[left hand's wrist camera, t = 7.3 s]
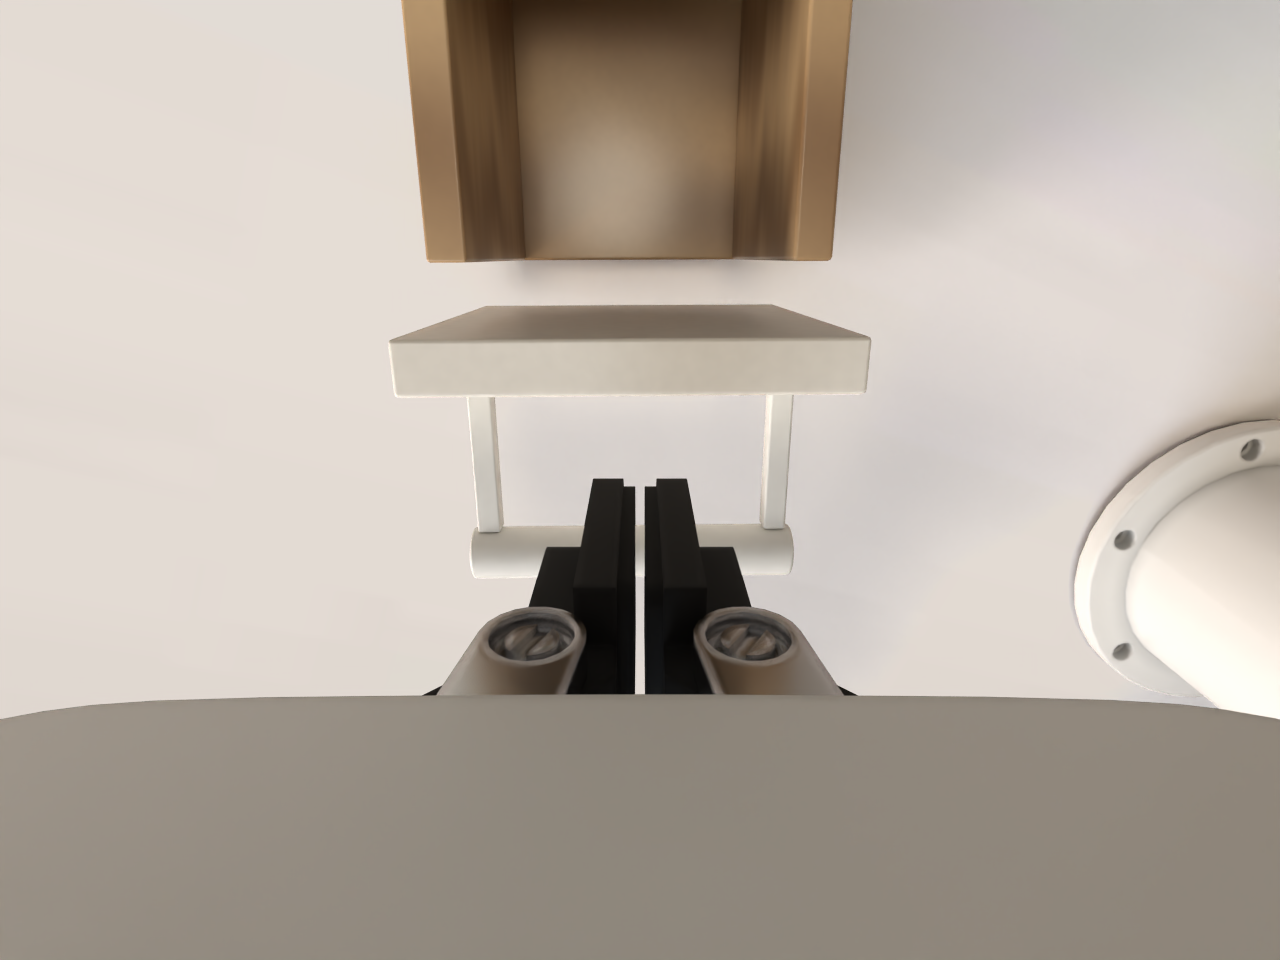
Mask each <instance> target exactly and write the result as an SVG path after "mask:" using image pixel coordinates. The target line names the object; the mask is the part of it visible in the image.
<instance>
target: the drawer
mask: <svg viewBox="0 0 1280 960" xmlns="http://www.w3.org/2000/svg"><path fill="white" fill-rule="evenodd" d="M401 2H402V13H403V23H404V33H405V43H406V53H407V64H408V74H409V84H410V94H411V104H412V115H413V125H414V135H415V145H416V155H417V165H418V176H419V186H420V196H421V206H422V216H423V227H424V237H425V247H426V257H427V261H428V262H430V263H437V262H488V261H514V260H665V259H745V260H782V261H828V260H830V259H831V257H832V251H833V238H834V226H835V214H836V201H837V189H838V177H839V164H840V152H841V139H842V127H843V115H844V102H845V90H846V78H847V65H848V53H849V41H850V28H851V16H852V3H853V0H401ZM388 345H389V354H390V362H391V370H392V379H393V387H394V394H395V396H396V397H399V398H441V397H467V403H468V415H469V426H470V438H471V450H472V461H473V473H474V485H475V496H476V508H477V520H478V527H477V528H475V529H474V531H473V534H472V537H471V543H470V565H471V570H472V573H473V576H474V577H475V578H537V577H538V573H539V570H540V567H541V563H542V560H543V556H544V553H545V550H546V548H547V547H581V541H582V536H583V531H584V526H513V527H502V526H503V524H504V519H503V505H502V491H501V477H500V464H499V450H498V436H497V422H496V408H495V397H571V396H702V395H766V413H765V431H764V449H763V467H762V485H761V503H760V522H761V524H698V525H696V531H697V536H698V541H699V547H733V548H734V550H735V553H736V556H737V560H738V563H739V567H740V570H741V573H742V575H787V574H789V573H790V572H791V569H792V566H793V558H794V547H793V538H792V533H791V530H790V527H789V526H788V525H787V524H785V513H786V499H787V484H788V469H789V455H790V440H791V425H792V410H793V396H794V395H832V394H863V393H865V392H866V388H867V378H868V368H869V358H870V349H871V339H870V337H868V336H865V335H862V334H859V333H856V332H853V331H850V330H847V329H844V328H841V327H838V326H835V325H832V324H829V323H826V322H823V321H820V320H817V319H814V318H811V317H808V316H805V315H802V314H799V313H796V312H793V311H790V310H787V309H784V308H781V307H778V306H775V305H591V306H485V307H482V308H479V309H477V310H474V311H471V312H468V313H465V314H462V315H460V316H457V317H454V318H451V319H448V320H445V321H443V322H440V323H437V324H434V325H431V326H429V327H426V328H423V329H420V330H417V331H414V332H412V333H409V334H406V335H403V336H400V337H397V338H395V339H392V340H390V341H389V344H388ZM638 576H645V525H635V577H638Z"/></svg>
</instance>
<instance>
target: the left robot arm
mask: <svg viewBox="0 0 1280 960" xmlns="http://www.w3.org/2000/svg"><path fill="white" fill-rule="evenodd" d="M1074 597H1075V610H1076V614H1077V617H1078V621H1079V625H1080V628H1081V630H1082V632H1083V634H1084V636H1085V637H1086V639H1087V641H1088V643H1089V645H1090V646H1091V647H1092V648H1093V650H1094V651H1095V652H1096V653H1097V654H1098V655H1099V656H1100V657H1101V658H1102V659H1103V660H1104V661H1105V662H1106V663H1107V664H1108V665H1109V666H1111V667H1112V668H1113V669H1114V670H1115V671H1117V672H1118V673H1119V674H1120V675H1122V676H1123V677H1124V678H1125V679H1127V680H1129V681H1131V682H1133V683H1135V684H1137V685H1139V686H1141V687H1143V688H1145V689H1147V690H1151V691H1155V692H1159V693H1163V694H1167V695H1172V696H1186V697H1204V696H1205V697H1206V698H1207V699H1208V700H1210V701H1211V702H1212V703H1213V704H1214V705H1216V706H1217V707H1218V708H1219V709H1216V708H1207V707H1199V706H1190V705H1181V704H1167V703H1151V702H1134V701H1118V700H1088V699H1050V698H1012V697H950V696H858V695H856V694H854V693H852V692H850V691H848V690H846V689H844V688H842V687H840V686H838V685H837V684H836V683H835V681H834V680H833V678H832V677H831V675H830V674H829V672H828V671H827V669H826V668H825V666H824V665H823V663H822V662H821V660H820V659H819V657H818V656H817V654H816V653H815V651H814V650H813V648H812V647H811V645H810V644H809V642H808V641H807V639H806V638H805V636H804V635H803V633H802V632H801V631H800V630H799V628H798V627H797V626H796V625H795V624H794V623H793V622H791V621H790V620H788V619H786V618H785V617H783V616H781V615H779V614H776V613H774V612H771V611H768V610H765V609H759V608H753V607H751V604H750V600H749V597H748V594H747V590H746V587H745V584H744V580H743V577H742V573H741V570H740V567H739V563H738V560H737V556H736V553H735V550H734V548H733V547H699V541H698V536H697V531H696V525H695V520H694V515H693V509H692V504H691V499H690V493H689V488H688V483H687V479H657V481H656V487H645V596H644V638H645V694H635V638H636V596H635V487H624V481H623V479H593V483H592V488H591V493H590V499H589V504H588V509H587V515H586V520H585V525H584V531H583V536H582V541H581V547H547V548H546V550H545V553H544V556H543V560H542V563H541V567H540V570H539V573H538V577H537V580H536V584H535V587H534V590H533V594H532V597H531V600H530V604H529V607H527V608H521V609H515V610H512V611H509V612H506V613H504V614H501V615H499V616H497V617H495V618H494V619H492V620H490V621H489V622H487V623H486V624H485V625H484V626H483V627H482V628H481V630H480V631H479V632H478V633H477V635H476V636H475V638H474V639H473V641H472V642H471V644H470V645H469V647H468V648H467V650H466V651H465V653H464V654H463V656H462V657H461V659H460V660H459V662H458V663H457V665H456V666H455V668H454V669H453V671H452V672H451V674H450V675H449V677H448V678H447V680H446V681H445V683H444V684H443V685H442V686H440V687H438V688H436V689H434V690H432V691H430V692H428V693H426V694H424V695H422V696H342V697H261V698H228V699H195V700H162V701H144V702H129V703H115V704H100V705H88V706H81V707H73V708H65V709H57V710H50V711H42V712H37V713H32V714H26V715H21V716H16V717H10V718H5V719H0V960H1280V420H1266V421H1255V422H1245V423H1240V424H1236V425H1232V426H1228V427H1224V428H1221V429H1217V430H1213V431H1210V432H1208V433H1206V434H1203V435H1201V436H1199V437H1196V438H1194V439H1192V440H1189V441H1187V442H1185V443H1183V444H1180V445H1179V446H1177V447H1176V448H1174V449H1172V450H1171V451H1169V452H1168V453H1166V454H1164V455H1163V456H1161V457H1160V458H1158V459H1156V460H1155V461H1153V462H1152V463H1150V464H1149V465H1148V466H1147V467H1146V468H1145V469H1143V470H1142V471H1141V472H1140V473H1139V474H1137V475H1136V476H1135V477H1134V478H1133V479H1131V480H1130V481H1129V482H1128V483H1127V484H1126V485H1125V486H1124V487H1123V488H1122V490H1121V491H1120V492H1119V493H1118V494H1117V495H1116V496H1115V497H1114V499H1113V500H1112V501H1111V502H1110V503H1109V504H1108V505H1107V507H1106V508H1105V509H1104V511H1103V513H1102V514H1101V516H1100V517H1099V519H1098V520H1097V522H1096V524H1095V525H1094V527H1093V528H1092V530H1091V531H1090V534H1089V536H1088V538H1087V541H1086V543H1085V546H1084V548H1083V550H1082V553H1081V555H1080V558H1079V562H1078V567H1077V572H1076V577H1075V582H1074Z"/></svg>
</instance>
